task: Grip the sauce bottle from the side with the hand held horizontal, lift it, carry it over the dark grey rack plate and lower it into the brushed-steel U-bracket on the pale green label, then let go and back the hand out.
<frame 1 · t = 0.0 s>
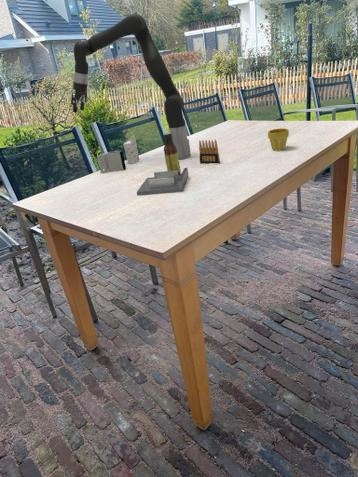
hand: (78, 111, 210), 31 cm above the table, tool tilted 20°, fingers open, 8 cm apart
plant pot: (278, 149, 194), on the table
sauce bottle: (174, 175, 179), on the table
rack plate: (164, 185, 165), on the table
ink cartridge box: (133, 162, 216), on the table
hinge: (113, 171, 203), on the table
ammunition clip: (210, 163, 189), on the table
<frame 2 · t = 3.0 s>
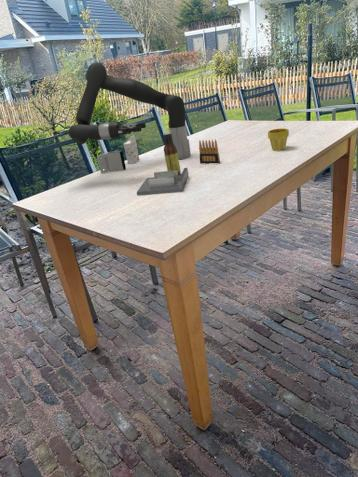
hand: (143, 126, 171), 24 cm above the table, tool horizontal, fingers open, 8 cm apart
nothing on the table moved.
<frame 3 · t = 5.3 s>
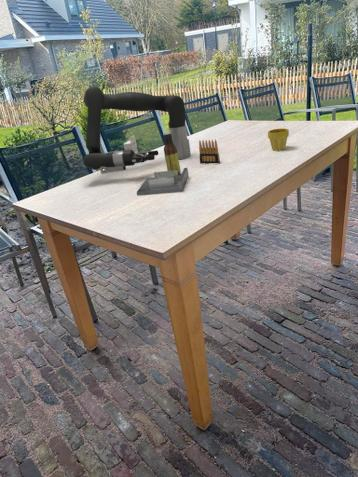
hand: (156, 154, 176), 10 cm above the table, tool horizontal, fingers open, 8 cm apart
nothing on the table moved.
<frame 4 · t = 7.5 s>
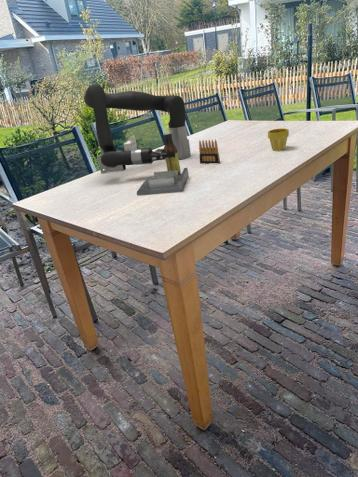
hand: (176, 152, 174), 11 cm above the table, tool horizontal, fingers closed on sauce bottle, 6 cm apart
sauce bottle: (174, 175, 179), on the table, touching gripper
everything else where it was.
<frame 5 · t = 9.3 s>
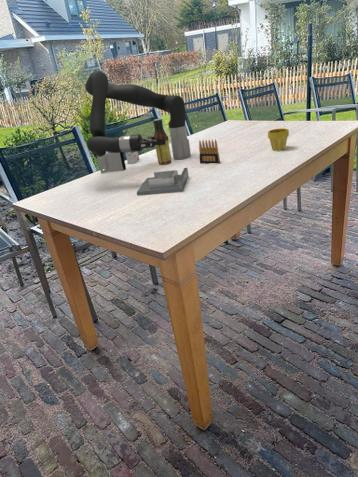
hand: (166, 140, 164), 18 cm above the table, tool horizontal, fingers closed on sauce bottle, 6 cm apart
sauce bottle: (164, 164, 169), point 8 cm above the table, touching gripper
everything else where it was.
when the fingers open (13 cm above the table, at t = 11.4 s): sauce bottle stays where it is, resting on rack plate.
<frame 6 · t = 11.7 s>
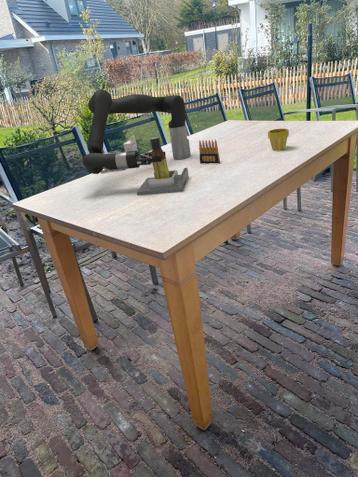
hand: (163, 156, 159), 13 cm above the table, tool horizontal, fingers open, 8 cm apart
sauce bottle: (163, 182, 164), point 1 cm above the table, touching rack plate
everything else where it was.
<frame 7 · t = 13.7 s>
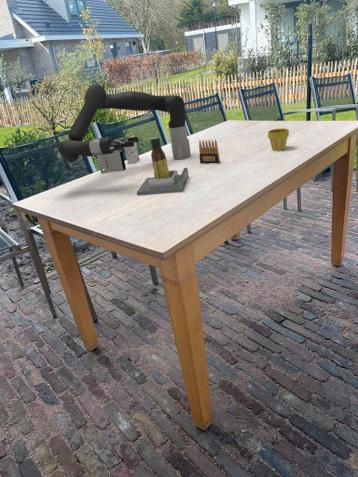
hand: (135, 141, 163), 20 cm above the table, tool horizontal, fingers open, 8 cm apart
nothing on the table moved.
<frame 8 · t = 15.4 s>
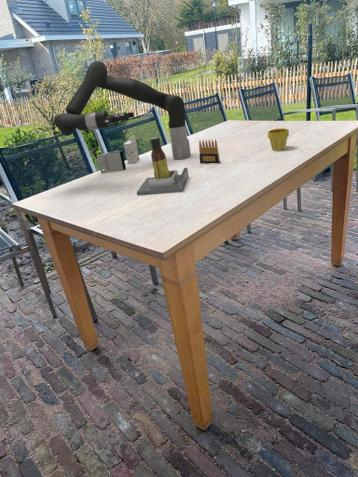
hand: (131, 116, 165), 30 cm above the table, tool horizontal, fingers open, 8 cm apart
nothing on the table moved.
at the end: sauce bottle inside the target area on the rack plate (0.2 cm from its centre), point 1.4 cm above the rack plate's base; sauce bottle tilted 0°; the gripper is holding nothing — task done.
